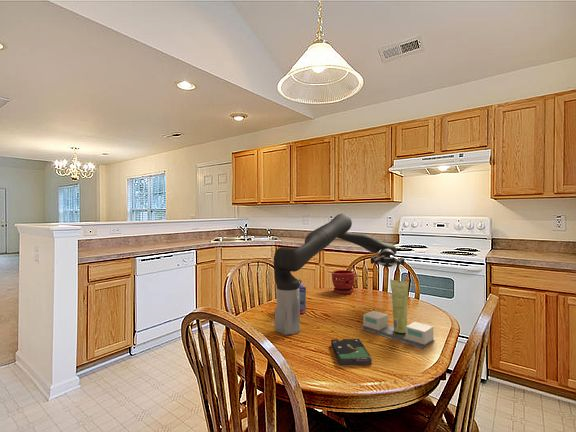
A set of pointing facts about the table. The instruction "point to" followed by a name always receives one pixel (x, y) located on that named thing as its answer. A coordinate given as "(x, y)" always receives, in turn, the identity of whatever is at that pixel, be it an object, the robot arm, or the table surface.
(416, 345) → the rail plate
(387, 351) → the table surface
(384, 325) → the mounted blocks
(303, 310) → the ink cartridge box
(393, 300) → the tube
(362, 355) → the disk drive
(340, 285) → the plant pot
